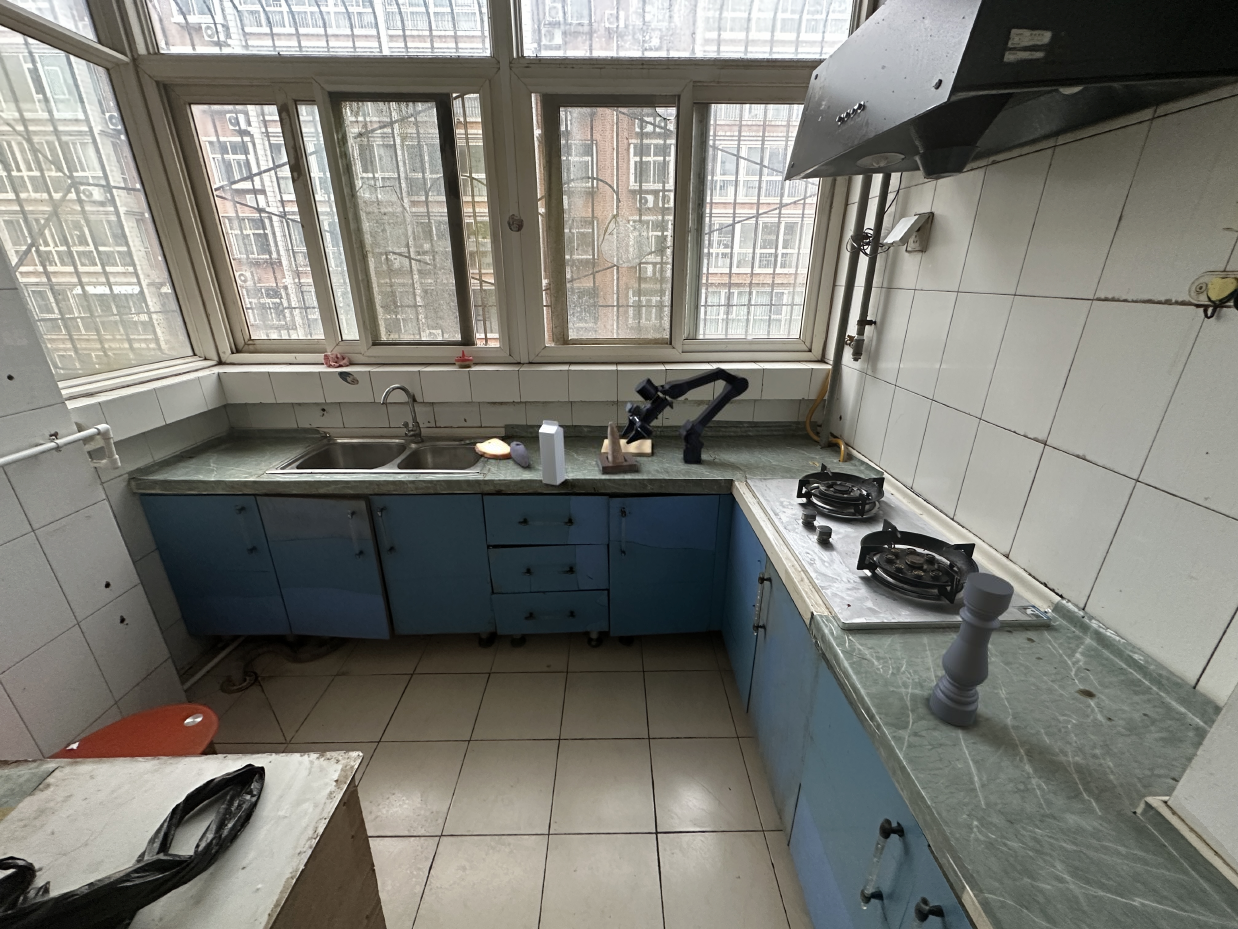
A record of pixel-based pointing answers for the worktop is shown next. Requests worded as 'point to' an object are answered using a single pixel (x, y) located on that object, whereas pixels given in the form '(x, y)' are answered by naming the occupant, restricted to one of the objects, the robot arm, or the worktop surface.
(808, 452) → the worktop surface
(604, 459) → the holder
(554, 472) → the milk
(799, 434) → the worktop surface
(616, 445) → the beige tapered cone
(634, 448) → the board
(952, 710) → the candle holder
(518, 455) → the perforated stone tool
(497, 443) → the slice of bread
